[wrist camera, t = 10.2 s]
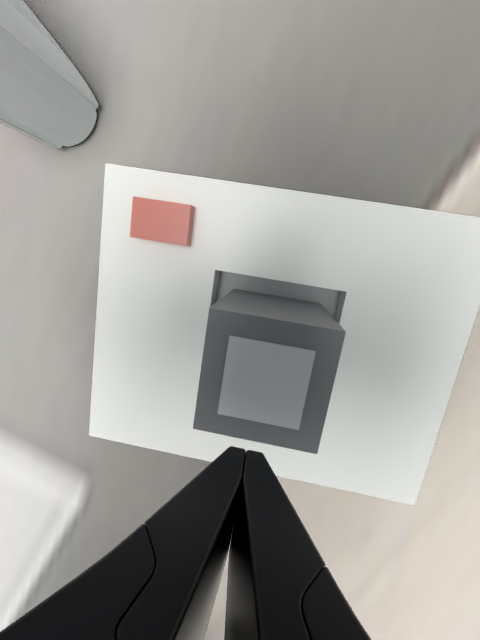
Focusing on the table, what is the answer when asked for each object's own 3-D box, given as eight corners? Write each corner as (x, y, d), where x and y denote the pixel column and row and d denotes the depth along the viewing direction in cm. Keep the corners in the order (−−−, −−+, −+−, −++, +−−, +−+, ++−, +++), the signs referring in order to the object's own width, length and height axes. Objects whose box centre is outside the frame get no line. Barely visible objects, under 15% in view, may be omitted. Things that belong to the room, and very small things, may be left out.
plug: (302, 383, 19) (317, 455, 12) (221, 368, 20) (192, 429, 13) (319, 303, 18) (346, 331, 11) (234, 288, 18) (208, 307, 12)
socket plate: (401, 481, 20) (420, 516, 18) (105, 419, 22) (81, 442, 19) (480, 225, 17) (519, 219, 14) (123, 173, 18) (97, 158, 16)
